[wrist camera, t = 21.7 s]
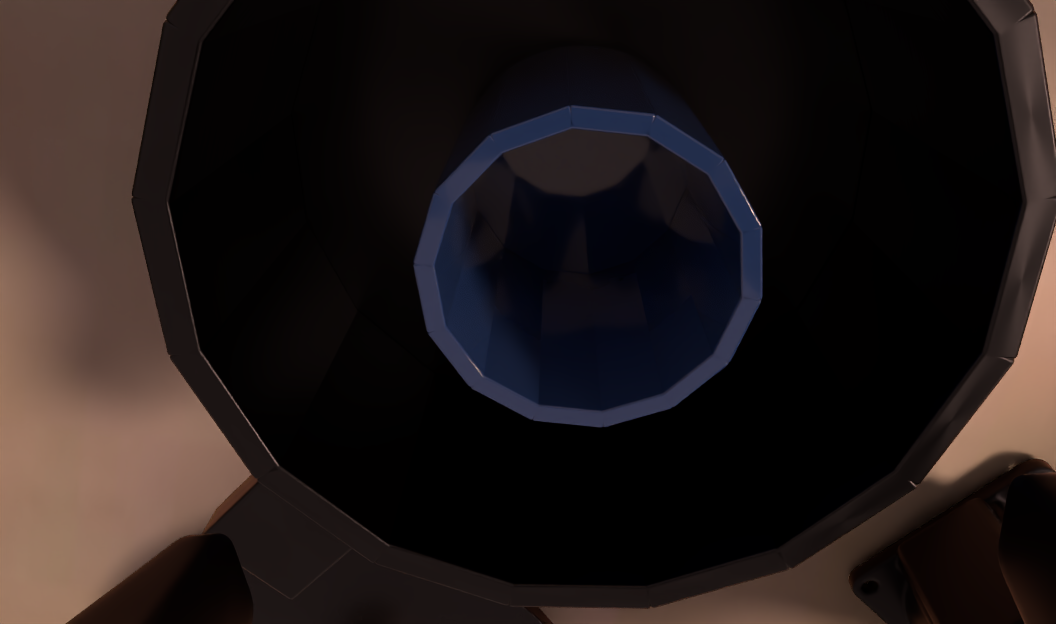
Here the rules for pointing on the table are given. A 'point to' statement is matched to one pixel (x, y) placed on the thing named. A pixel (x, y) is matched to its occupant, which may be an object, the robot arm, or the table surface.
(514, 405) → the blue cup
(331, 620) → the pot lid
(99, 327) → the table surface
